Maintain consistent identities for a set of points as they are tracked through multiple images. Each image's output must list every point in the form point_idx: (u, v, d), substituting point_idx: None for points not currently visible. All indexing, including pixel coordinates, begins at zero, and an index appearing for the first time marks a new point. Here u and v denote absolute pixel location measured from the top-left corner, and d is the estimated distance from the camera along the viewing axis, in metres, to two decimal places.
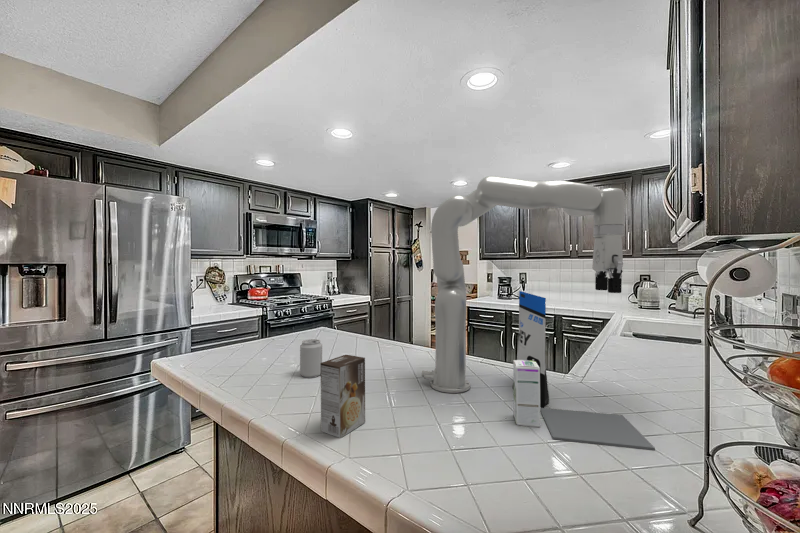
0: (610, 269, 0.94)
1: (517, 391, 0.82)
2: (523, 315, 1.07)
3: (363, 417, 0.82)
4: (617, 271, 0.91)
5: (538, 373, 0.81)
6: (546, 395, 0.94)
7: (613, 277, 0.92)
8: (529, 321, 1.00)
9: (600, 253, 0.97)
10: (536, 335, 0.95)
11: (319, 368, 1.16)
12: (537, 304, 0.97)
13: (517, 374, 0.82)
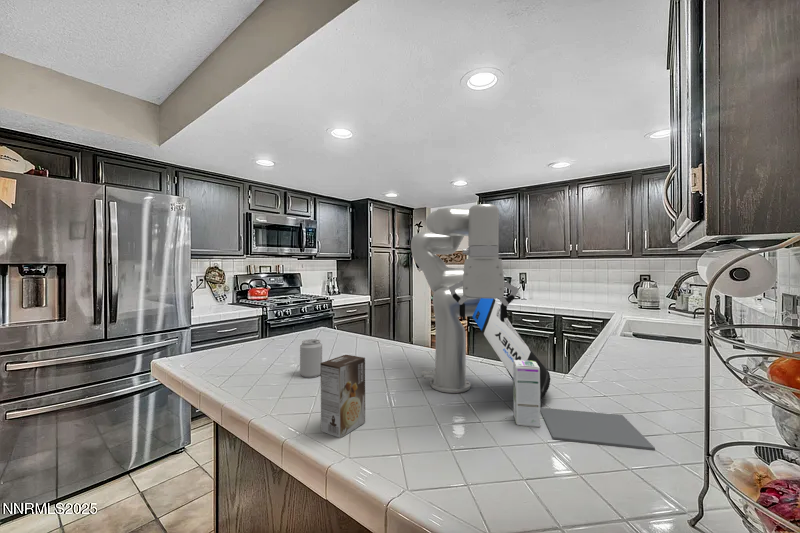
0: (502, 296, 0.85)
1: (517, 391, 0.82)
2: None
3: (363, 417, 0.82)
4: None
5: (538, 373, 0.81)
6: None
7: None
8: None
9: (493, 278, 0.84)
10: None
11: (319, 368, 1.16)
12: None
13: (517, 374, 0.82)
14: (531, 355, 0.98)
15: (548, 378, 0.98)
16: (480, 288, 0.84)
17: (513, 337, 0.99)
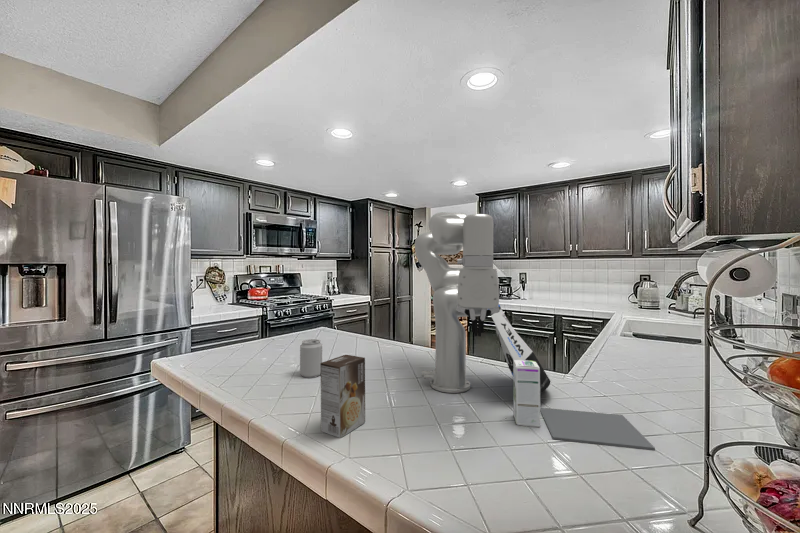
0: (486, 311, 0.85)
1: (517, 391, 0.82)
2: None
3: (363, 417, 0.82)
4: (489, 314, 0.85)
5: (538, 373, 0.81)
6: None
7: (484, 319, 0.85)
8: None
9: (487, 288, 0.83)
10: (499, 332, 0.99)
11: (319, 368, 1.16)
12: None
13: (517, 374, 0.82)
14: (533, 354, 1.02)
15: (548, 379, 0.99)
16: (475, 298, 0.84)
17: (517, 334, 1.04)
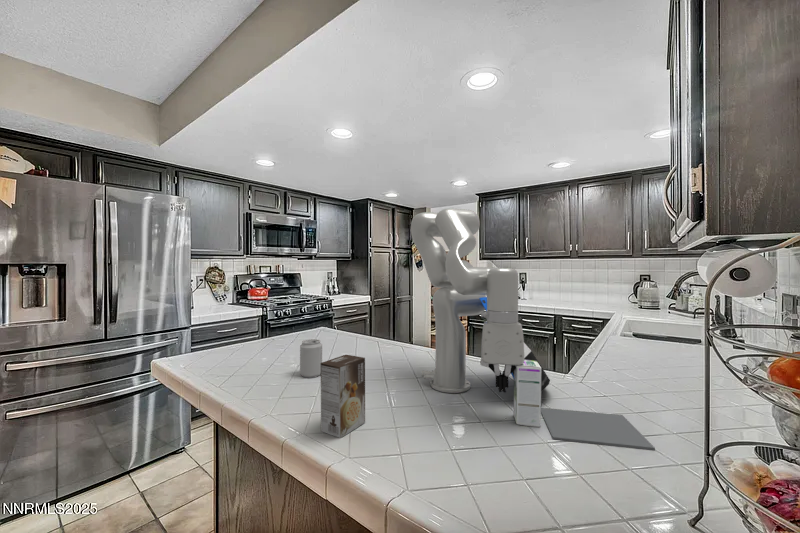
0: None
1: (518, 391, 0.82)
2: None
3: (363, 417, 0.82)
4: None
5: (539, 373, 0.81)
6: None
7: (509, 374, 0.84)
8: None
9: (512, 344, 0.82)
10: None
11: (319, 368, 1.16)
12: (486, 304, 1.03)
13: (518, 373, 0.82)
14: (532, 353, 1.02)
15: (548, 378, 1.00)
16: (499, 354, 0.83)
17: None
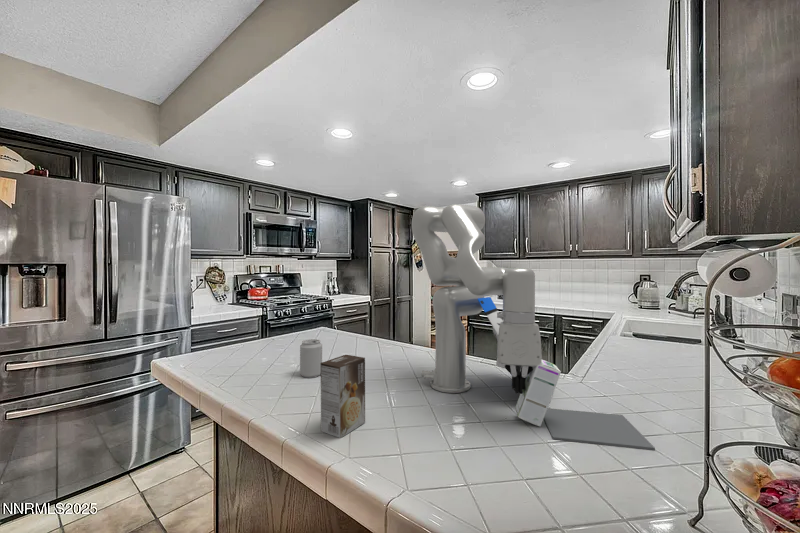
0: None
1: (530, 387, 0.81)
2: None
3: (363, 417, 0.82)
4: (531, 370, 0.84)
5: (557, 376, 0.80)
6: None
7: None
8: None
9: (530, 345, 0.81)
10: (496, 332, 1.00)
11: (319, 368, 1.16)
12: (484, 305, 1.03)
13: (536, 370, 0.81)
14: None
15: None
16: (516, 355, 0.82)
17: None
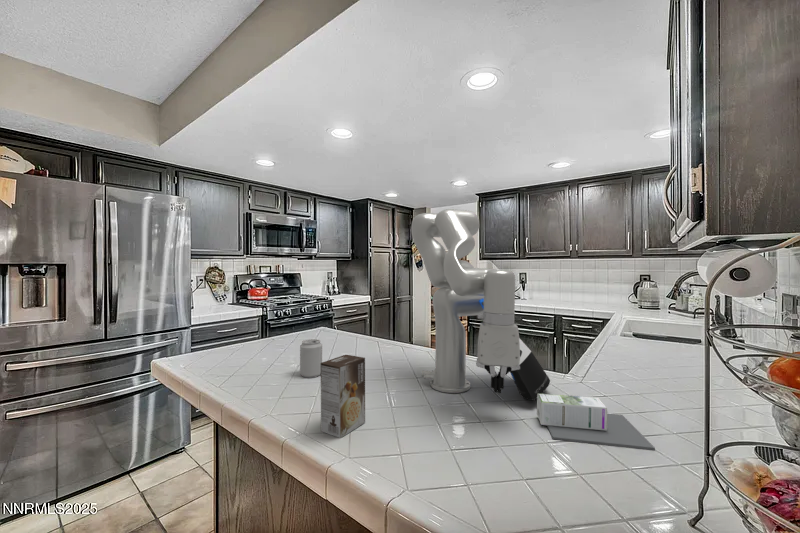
0: None
1: (578, 406, 0.79)
2: None
3: (363, 417, 0.82)
4: None
5: (600, 428, 0.78)
6: (535, 385, 0.94)
7: None
8: None
9: (509, 346, 0.83)
10: None
11: (319, 368, 1.16)
12: None
13: (598, 408, 0.78)
14: (532, 354, 1.01)
15: (548, 379, 0.99)
16: (496, 356, 0.83)
17: None
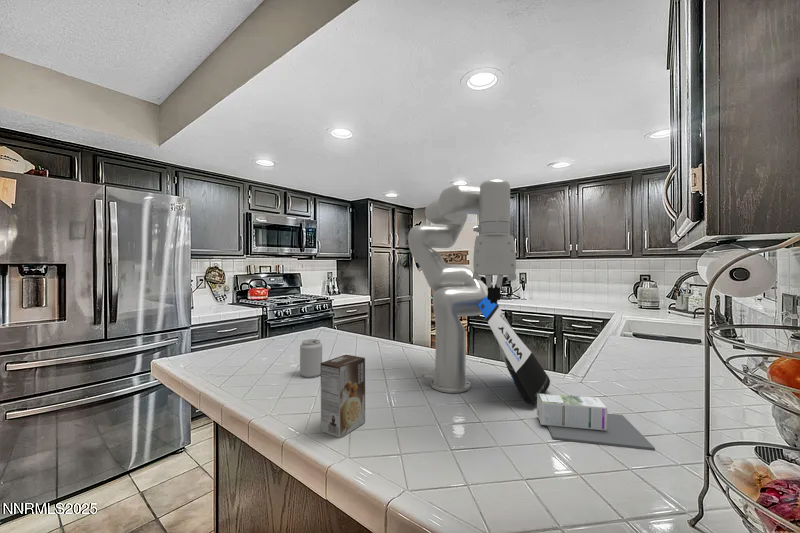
0: (502, 278, 0.84)
1: (578, 406, 0.79)
2: None
3: (363, 417, 0.82)
4: None
5: (600, 428, 0.78)
6: (535, 388, 0.93)
7: None
8: None
9: (504, 254, 0.83)
10: None
11: (319, 368, 1.16)
12: None
13: (598, 408, 0.78)
14: (532, 355, 1.00)
15: (548, 380, 0.99)
16: (491, 265, 0.83)
17: (515, 336, 1.02)
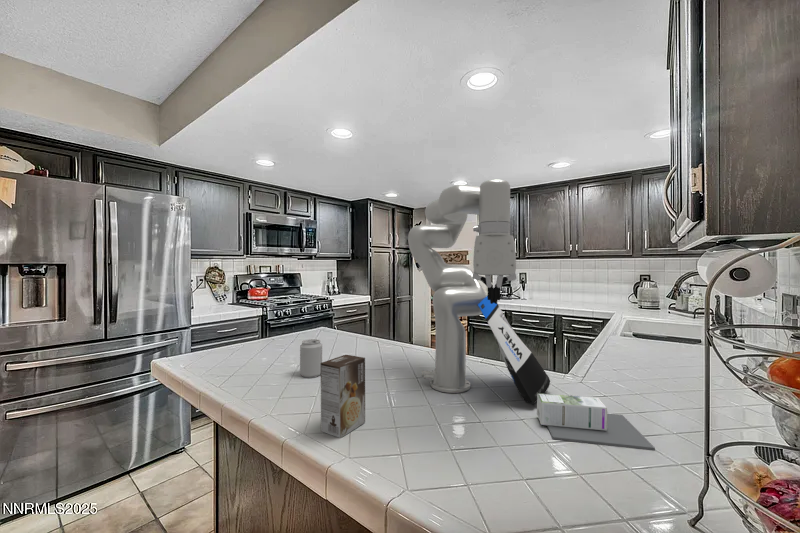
0: (502, 278, 0.84)
1: (578, 406, 0.79)
2: None
3: (363, 417, 0.82)
4: None
5: (600, 428, 0.78)
6: (535, 388, 0.93)
7: None
8: None
9: (504, 254, 0.83)
10: None
11: (319, 368, 1.16)
12: None
13: (598, 408, 0.78)
14: (532, 355, 1.00)
15: (548, 380, 0.99)
16: (491, 265, 0.83)
17: (515, 336, 1.02)
